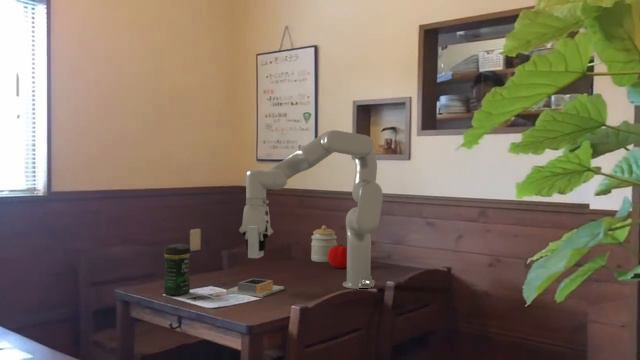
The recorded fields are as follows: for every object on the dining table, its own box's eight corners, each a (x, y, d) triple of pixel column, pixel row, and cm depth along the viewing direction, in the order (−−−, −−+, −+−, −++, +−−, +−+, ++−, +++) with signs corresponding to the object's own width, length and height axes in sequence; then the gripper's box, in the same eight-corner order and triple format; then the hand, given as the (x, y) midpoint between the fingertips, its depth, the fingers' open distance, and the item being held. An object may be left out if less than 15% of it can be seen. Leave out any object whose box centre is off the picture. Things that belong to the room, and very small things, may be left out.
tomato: (331, 270, 280) (331, 245, 279) (325, 265, 291) (325, 242, 290) (356, 269, 282) (356, 245, 282) (349, 265, 294) (349, 242, 293)
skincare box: (253, 255, 237) (253, 224, 237) (263, 256, 236) (264, 225, 236) (247, 257, 231) (247, 226, 231) (258, 258, 230) (258, 226, 230)
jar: (308, 262, 301) (309, 226, 301) (313, 257, 314) (313, 223, 314) (334, 263, 299) (335, 227, 299) (338, 258, 312) (338, 224, 312)
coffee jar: (178, 297, 222) (178, 246, 221) (160, 295, 225) (160, 245, 224) (193, 292, 231) (193, 243, 230) (176, 290, 234) (176, 241, 233)
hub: (283, 289, 238) (284, 280, 238) (262, 297, 223) (262, 287, 223) (248, 285, 245) (249, 276, 245) (226, 292, 230) (226, 283, 230)
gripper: (280, 202, 233) (279, 250, 233) (242, 201, 240) (242, 247, 241) (270, 204, 226) (270, 253, 227) (231, 202, 233) (231, 249, 234)
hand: (255, 249), depth 234 cm, fingers closed on skincare box, 4 cm apart
